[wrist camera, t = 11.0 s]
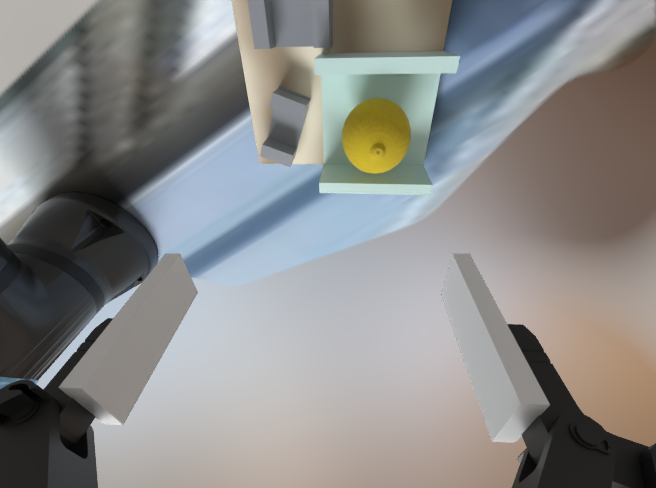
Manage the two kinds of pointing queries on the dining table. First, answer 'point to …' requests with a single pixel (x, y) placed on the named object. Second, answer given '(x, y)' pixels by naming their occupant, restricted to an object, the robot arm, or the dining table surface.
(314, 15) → the clip
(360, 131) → the lemon
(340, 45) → the board
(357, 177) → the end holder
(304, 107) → the clip
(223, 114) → the dining table surface
